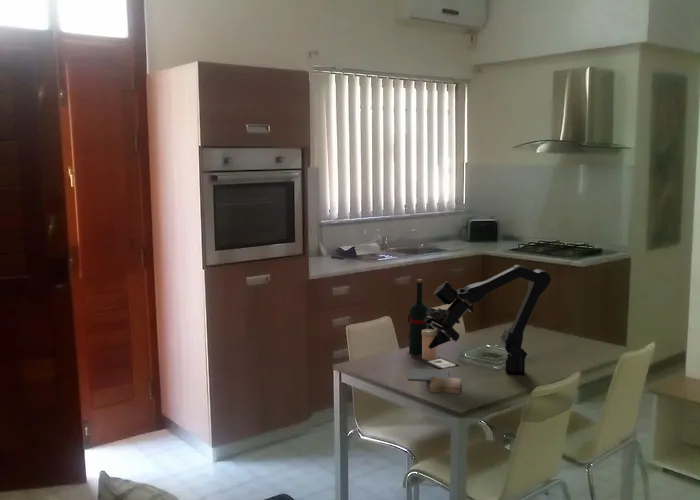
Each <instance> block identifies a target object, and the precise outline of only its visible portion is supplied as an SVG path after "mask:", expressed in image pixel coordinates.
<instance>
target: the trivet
mask: <svg viewBox="0 0 700 500" xmlns="http://www.w3.org/2000/svg"><path fill="white" fill-rule="evenodd" d="M461 383H462V381H461V377H459V378H458V377H448V378H446V377H432V378H431V381H430V383H429V392H430V393H444V394H461V386H462V385H461Z"/></svg>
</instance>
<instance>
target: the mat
mask: <svg viewBox="0 0 700 500" xmlns="http://www.w3.org/2000/svg"><path fill="white" fill-rule="evenodd" d="M449 374H450V370H449V369H448V370H447V369H430V368H429V369H428V368H410V371H409V374H408V376H407V380H408V381H422V382H431V378H432V377H446V378H449V376H450V375H449Z"/></svg>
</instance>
